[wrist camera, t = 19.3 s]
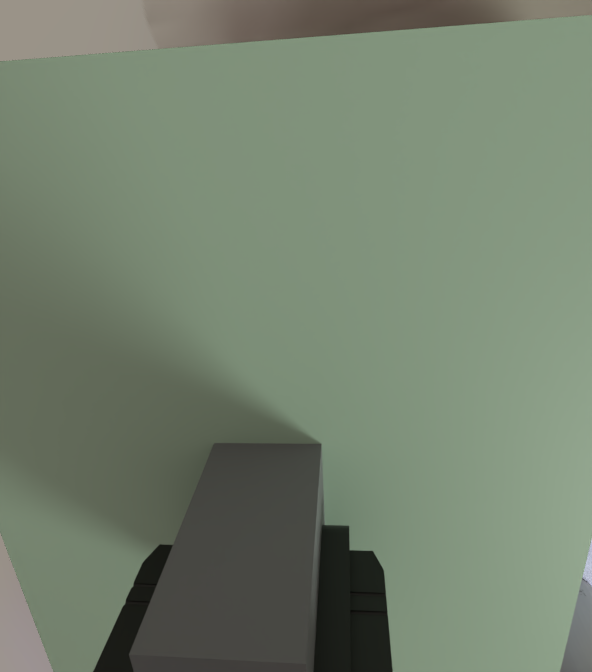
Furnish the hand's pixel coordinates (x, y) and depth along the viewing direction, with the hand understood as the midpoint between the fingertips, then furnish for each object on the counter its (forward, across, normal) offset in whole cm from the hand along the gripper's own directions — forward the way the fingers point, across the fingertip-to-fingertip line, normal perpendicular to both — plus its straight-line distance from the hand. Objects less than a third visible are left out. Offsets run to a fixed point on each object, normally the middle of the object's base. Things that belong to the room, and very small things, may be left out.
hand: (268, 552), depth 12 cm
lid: (+2, 0, +2) cm, 3 cm away
